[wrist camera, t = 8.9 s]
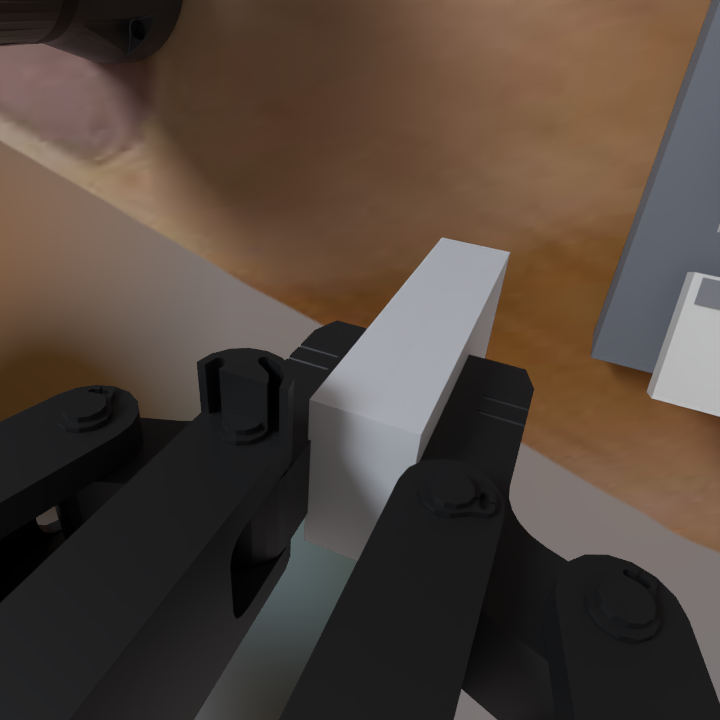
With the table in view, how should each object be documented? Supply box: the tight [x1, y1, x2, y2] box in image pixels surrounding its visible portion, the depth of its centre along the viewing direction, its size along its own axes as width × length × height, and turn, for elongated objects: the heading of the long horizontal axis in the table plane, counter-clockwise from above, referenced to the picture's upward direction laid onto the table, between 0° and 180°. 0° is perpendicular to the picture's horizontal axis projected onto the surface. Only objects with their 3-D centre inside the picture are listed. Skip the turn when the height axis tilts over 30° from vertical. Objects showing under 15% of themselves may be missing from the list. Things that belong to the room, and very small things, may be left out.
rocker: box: [647, 272, 720, 417], centre depth 35 cm, size 5×8×2 cm, turn 174°
